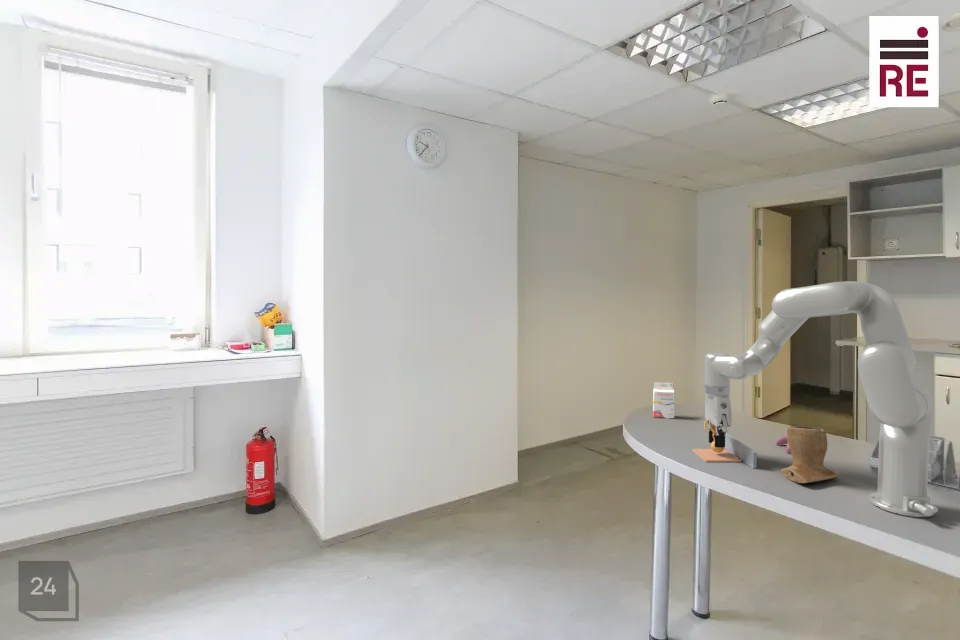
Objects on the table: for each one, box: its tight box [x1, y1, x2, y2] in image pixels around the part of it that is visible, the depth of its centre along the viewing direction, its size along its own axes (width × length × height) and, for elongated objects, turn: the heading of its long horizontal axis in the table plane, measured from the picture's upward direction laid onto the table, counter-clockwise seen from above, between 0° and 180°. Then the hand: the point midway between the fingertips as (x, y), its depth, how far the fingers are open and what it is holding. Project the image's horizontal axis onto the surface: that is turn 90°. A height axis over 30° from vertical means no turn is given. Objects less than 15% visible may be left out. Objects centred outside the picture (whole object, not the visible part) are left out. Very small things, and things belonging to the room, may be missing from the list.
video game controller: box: [775, 432, 792, 455], centre depth 166 cm, size 10×5×7 cm, turn 169°
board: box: [692, 448, 742, 463], centre depth 161 cm, size 11×11×1 cm
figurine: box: [703, 419, 725, 453], centre depth 161 cm, size 8×6×12 cm
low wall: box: [724, 432, 758, 469], centre depth 160 cm, size 20×1×5 cm, turn 178°
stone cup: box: [780, 425, 839, 484], centre depth 142 cm, size 15×12×15 cm
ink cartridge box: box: [652, 381, 676, 419], centre depth 209 cm, size 9×5×15 cm, turn 72°
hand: (716, 444), depth 161 cm, fingers closed on figurine, 3 cm apart
